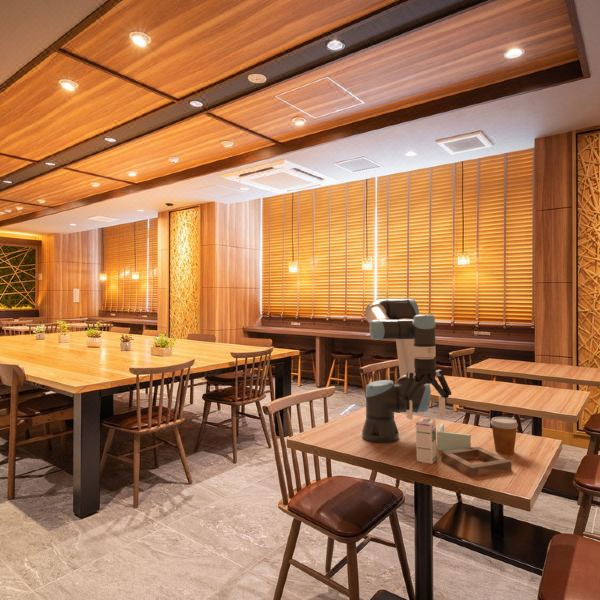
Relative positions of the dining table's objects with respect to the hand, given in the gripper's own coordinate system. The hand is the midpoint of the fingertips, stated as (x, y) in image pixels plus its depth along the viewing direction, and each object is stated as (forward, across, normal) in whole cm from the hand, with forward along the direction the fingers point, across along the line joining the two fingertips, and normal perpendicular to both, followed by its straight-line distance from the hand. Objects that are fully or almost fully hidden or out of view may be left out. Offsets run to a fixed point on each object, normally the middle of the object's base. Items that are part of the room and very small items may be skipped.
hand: (426, 416), depth 158 cm
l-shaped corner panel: (+16, +19, +9) cm, 26 cm away
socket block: (+16, +13, -10) cm, 23 cm away
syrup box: (+16, 0, 0) cm, 16 cm away
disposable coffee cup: (+16, +32, -2) cm, 36 cm away
